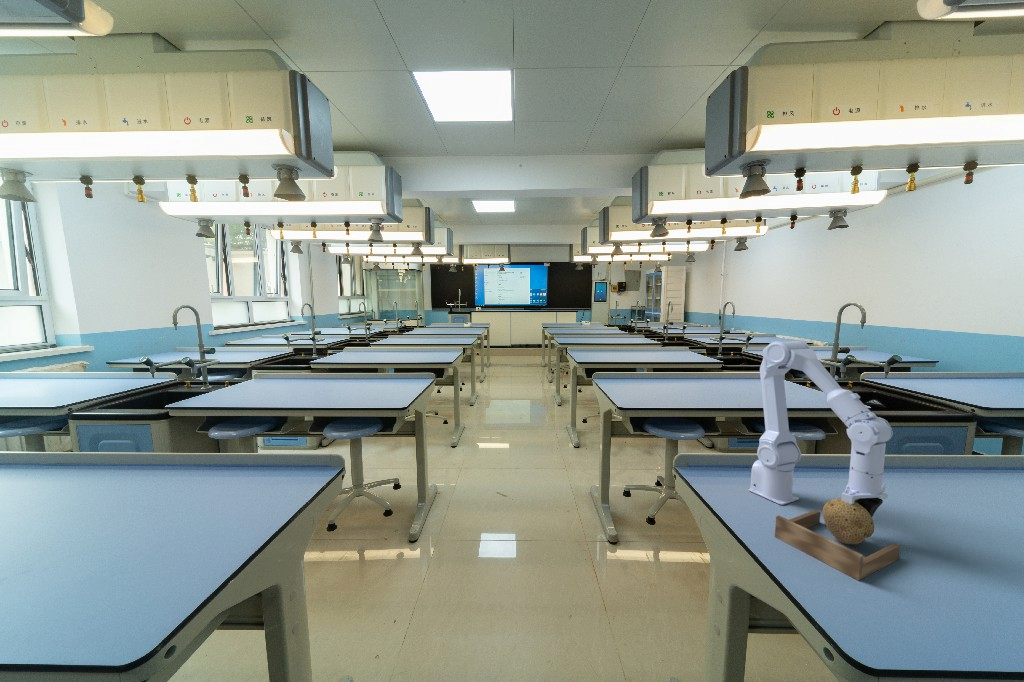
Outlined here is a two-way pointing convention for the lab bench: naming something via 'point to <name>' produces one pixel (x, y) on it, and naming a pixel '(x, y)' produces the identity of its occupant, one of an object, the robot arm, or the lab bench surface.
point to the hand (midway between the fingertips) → (861, 525)
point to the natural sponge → (847, 521)
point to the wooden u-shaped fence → (831, 547)
